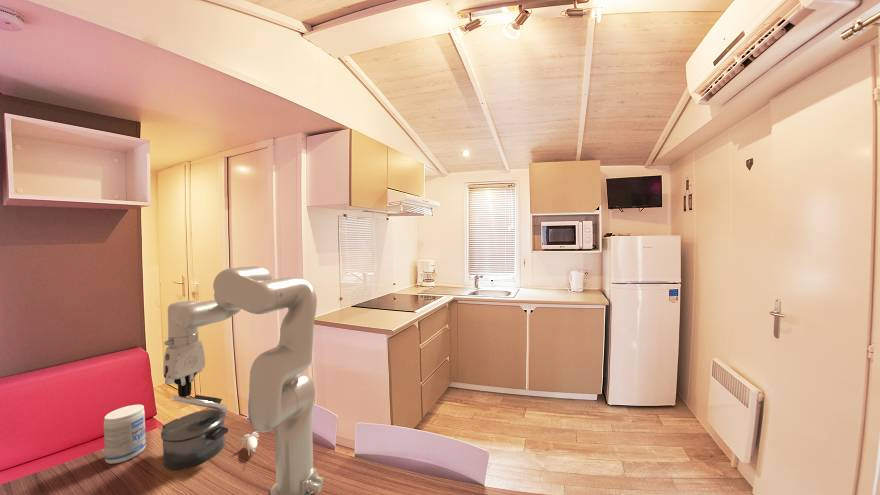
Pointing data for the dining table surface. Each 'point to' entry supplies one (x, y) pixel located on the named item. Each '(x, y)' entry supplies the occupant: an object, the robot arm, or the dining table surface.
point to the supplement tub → (124, 433)
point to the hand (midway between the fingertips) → (184, 395)
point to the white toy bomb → (251, 441)
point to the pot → (193, 439)
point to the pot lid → (202, 401)
